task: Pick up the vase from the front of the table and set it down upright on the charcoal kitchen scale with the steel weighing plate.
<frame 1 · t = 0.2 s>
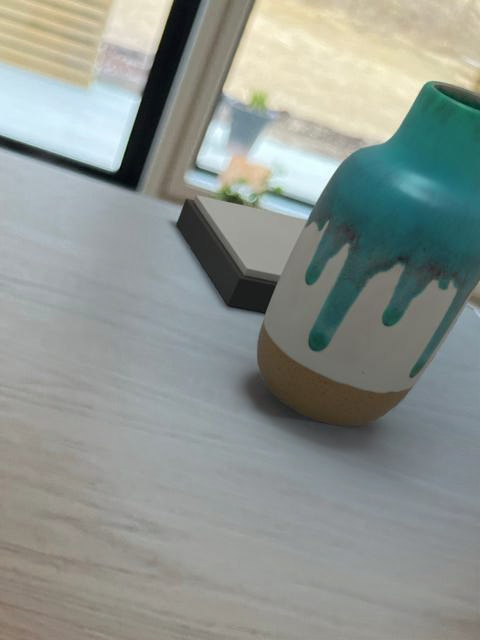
vase: (307, 408, 69), on the table
scale: (283, 279, 84), on the table
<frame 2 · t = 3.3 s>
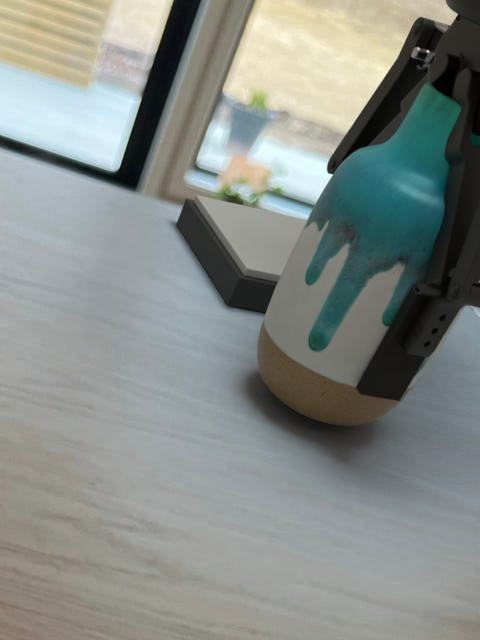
hand: (340, 345, 66), 4 cm above the table, tool pointing down, fingers closed on vase, 11 cm apart
vase: (307, 408, 69), on the table, touching gripper
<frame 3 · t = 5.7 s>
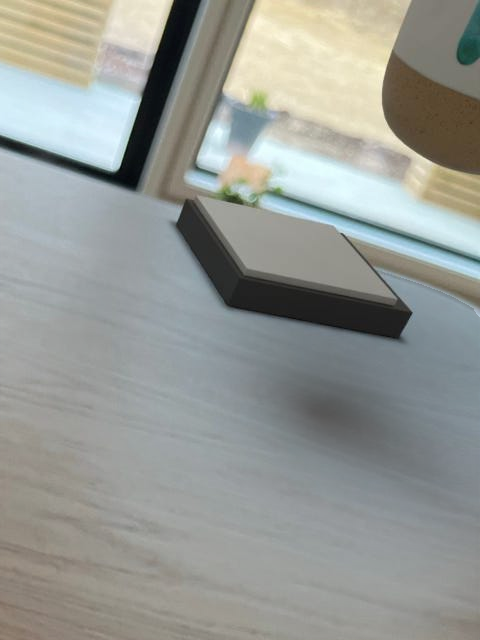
vase: (438, 166, 58), point 16 cm above the table, touching gripper
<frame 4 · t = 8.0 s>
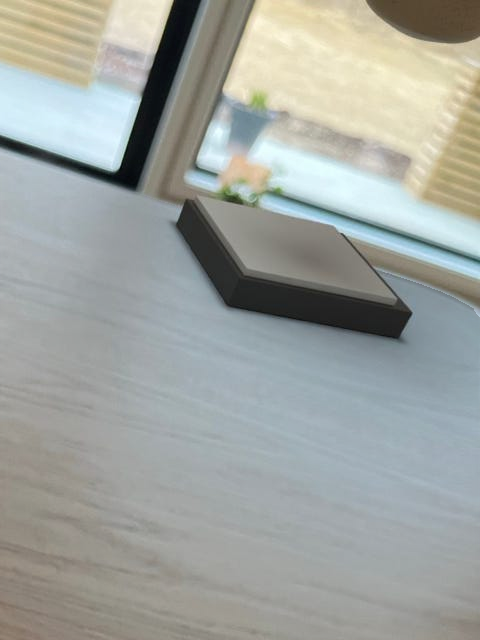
vase: (409, 38, 70), point 18 cm above the table, touching gripper
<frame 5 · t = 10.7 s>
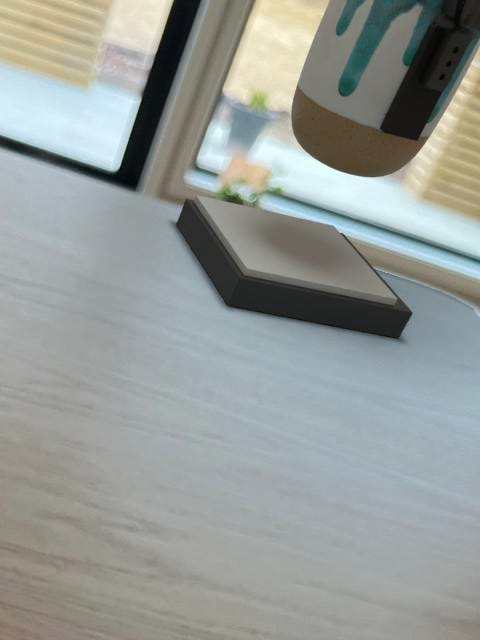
hand: (365, 106, 75), 13 cm above the table, tool pointing down, fingers closed on vase, 11 cm apart
vase: (334, 169, 78), point 9 cm above the table, touching gripper
when the fingers open (7 cm above the table, at t = 13.0 s): vase stays where it is, resting on scale.
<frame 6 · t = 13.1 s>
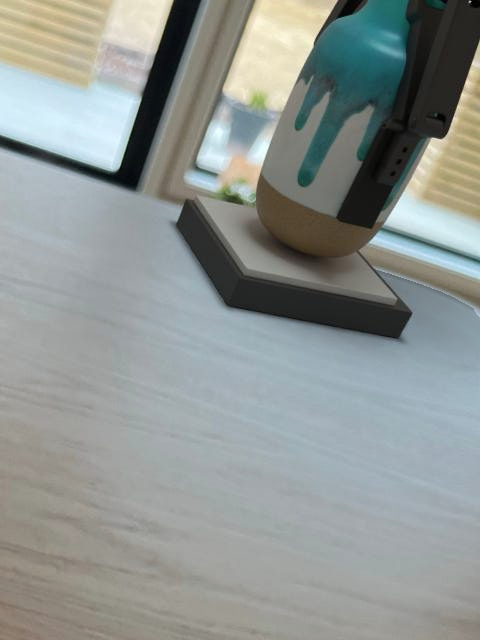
hand: (324, 191, 79), 7 cm above the table, tool pointing down, fingers open, 11 cm apart
vase: (298, 248, 82), point 3 cm above the table, touching scale
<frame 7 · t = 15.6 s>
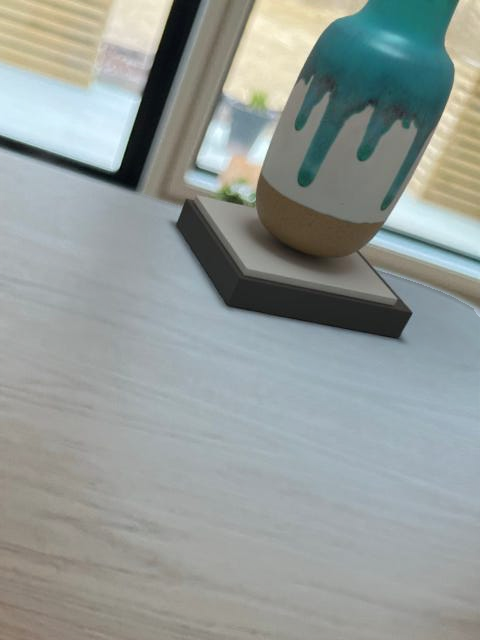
nothing on the table moved.
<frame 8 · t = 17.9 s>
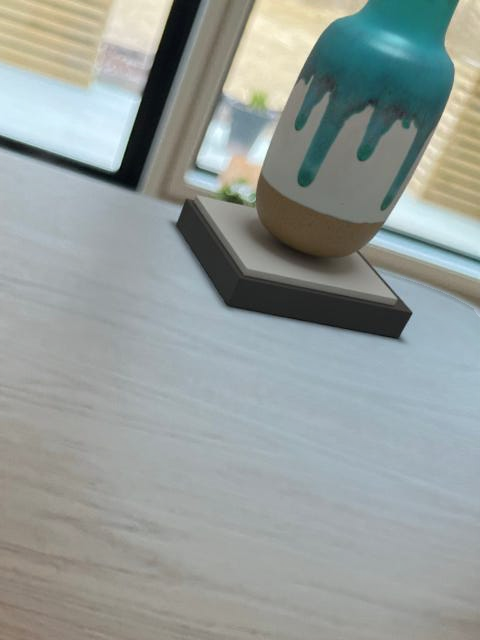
nothing on the table moved.
at the end: vase inside the target area on the scale (0.0 cm from its centre), point 2.6 cm above the scale's base; vase tilted 0°; the gripper is holding nothing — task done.
